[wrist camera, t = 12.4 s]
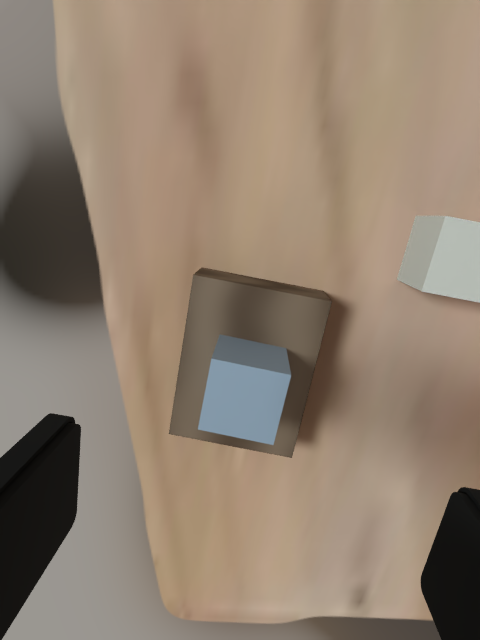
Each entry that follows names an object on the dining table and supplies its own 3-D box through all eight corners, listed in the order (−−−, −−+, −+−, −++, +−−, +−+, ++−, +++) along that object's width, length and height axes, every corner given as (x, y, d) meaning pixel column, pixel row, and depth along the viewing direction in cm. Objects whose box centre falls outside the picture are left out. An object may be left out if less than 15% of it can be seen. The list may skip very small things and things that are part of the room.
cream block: (479, 228, 30) (522, 230, 25) (458, 291, 31) (494, 305, 26) (415, 215, 30) (445, 215, 25) (396, 279, 31) (421, 291, 26)
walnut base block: (323, 290, 31) (331, 301, 28) (288, 431, 35) (291, 457, 31) (201, 267, 32) (193, 274, 28) (179, 409, 35) (168, 433, 31)
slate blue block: (286, 348, 29) (291, 375, 24) (271, 408, 30) (273, 445, 25) (219, 334, 29) (211, 358, 24) (207, 394, 30) (197, 429, 25)
